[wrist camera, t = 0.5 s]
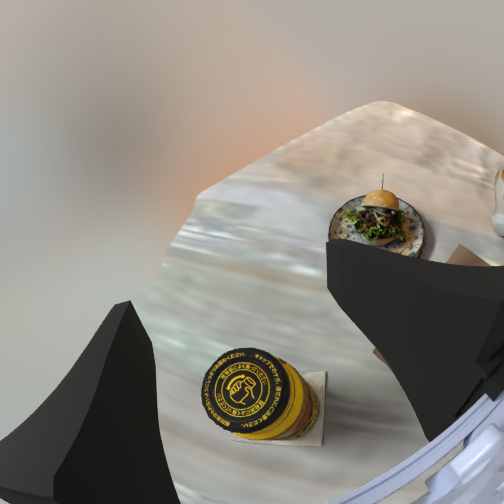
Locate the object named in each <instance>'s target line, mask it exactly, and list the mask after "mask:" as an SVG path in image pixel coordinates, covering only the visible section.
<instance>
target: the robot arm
mask: <svg viewBox="0 0 504 504" xmlns="http://www.w3.org/2000/svg"><path fill="white" fill-rule="evenodd" d="M326 254H327V288H328V289H329V291H330V293H331V294H332V296H333V297H334V299H335V300H336V302H337V303H338V305H339V306H340V307H341V309H342V310H343V311H344V312H345V313H346V314H347V315H348V317H349V318H350V319H351V320H352V321H353V322H354V323H355V324H356V326H357V327H358V328H359V329H360V330H361V331H362V332H363V333H364V335H365V336H366V337H367V338H368V339H369V340H370V341H371V342H372V344H373V345H374V346H375V347H376V348H377V350H378V351H379V352H380V353H381V355H382V356H383V358H384V359H385V361H386V362H387V364H388V365H389V367H390V368H391V370H392V371H393V373H394V375H395V376H396V378H397V380H398V381H399V383H400V385H401V386H402V388H403V390H404V392H405V393H406V395H407V397H408V399H409V401H410V403H411V405H412V407H413V409H414V411H415V413H416V415H417V417H418V419H419V422H420V424H421V426H422V429H423V431H424V434H425V436H426V438H427V439H428V441H429V442H430V443H429V444H427V445H426V446H425V447H423V448H422V449H421V450H419V451H418V452H416V453H415V454H414V455H412V456H411V457H409V458H408V459H406V460H405V461H403V462H402V463H400V464H399V465H397V466H396V467H394V468H392V469H391V470H389V471H387V472H386V473H384V474H382V475H381V476H379V477H377V478H376V479H374V480H372V481H370V482H368V483H367V484H365V485H363V486H361V487H359V488H357V489H355V490H353V491H351V492H349V493H347V494H345V495H343V496H341V497H339V498H336V499H334V500H332V501H330V502H327V503H325V504H376V503H377V502H379V501H381V500H383V499H384V498H386V497H388V496H389V495H391V494H393V493H394V492H396V491H397V490H399V489H401V488H402V487H404V486H405V485H407V484H408V483H410V482H411V481H413V480H414V479H415V478H417V477H418V476H420V475H421V474H422V473H424V472H425V471H427V470H428V469H429V468H430V467H432V466H433V465H434V464H436V463H437V462H438V461H439V460H441V459H442V458H443V457H444V456H446V455H447V454H448V453H449V452H450V451H451V450H453V449H454V448H455V447H456V446H457V445H458V444H459V443H461V442H462V441H463V440H464V443H463V444H464V447H463V450H462V451H461V452H460V453H458V454H457V455H456V456H455V457H454V458H453V459H451V460H450V461H449V462H448V463H447V464H445V465H444V466H443V467H442V468H440V469H439V470H438V471H437V472H435V473H434V474H433V475H432V476H430V477H429V478H428V479H426V480H425V484H426V485H427V487H428V488H429V490H430V491H428V492H427V493H425V494H424V495H423V496H421V497H420V498H418V499H417V500H415V501H414V502H412V503H411V504H504V266H466V265H455V264H447V263H440V262H434V261H429V260H423V259H419V258H415V257H410V256H406V255H402V254H399V253H395V252H391V251H388V250H384V249H381V248H377V247H374V246H370V245H367V244H363V243H360V242H356V241H352V240H347V239H342V238H339V239H336V240H333V241H329V242H326ZM0 498H1V499H3V500H4V501H6V502H8V503H10V504H181V503H180V501H179V498H178V495H177V493H176V490H175V487H174V484H173V481H172V478H171V475H170V471H169V468H168V464H167V461H166V457H165V453H164V449H163V444H162V440H161V435H160V430H159V422H158V408H157V389H156V366H155V359H154V353H153V346H152V342H151V340H150V338H149V336H148V334H147V332H146V331H145V329H144V327H143V325H142V323H141V321H140V319H139V317H138V315H137V313H136V311H135V309H134V307H133V305H132V303H131V301H126V302H123V303H119V304H116V305H114V307H113V308H112V309H111V310H110V312H109V313H108V315H107V316H106V318H105V320H104V321H103V322H102V324H101V325H100V327H99V328H98V330H97V332H96V333H95V335H94V336H93V338H92V339H91V341H90V342H89V344H88V345H87V347H86V348H85V350H84V351H83V353H82V354H81V356H80V357H79V358H78V360H77V361H76V363H75V364H74V366H73V367H72V368H71V370H70V371H69V373H68V374H67V375H66V376H65V378H64V379H63V380H62V381H61V383H60V384H59V385H58V386H57V388H56V389H55V390H54V391H53V392H52V393H51V395H50V396H49V397H48V398H47V399H46V400H45V401H44V402H43V403H42V404H41V405H40V406H39V407H38V409H37V410H36V411H35V412H34V413H33V414H32V415H30V417H28V418H27V419H26V420H25V421H24V422H23V423H22V424H21V425H20V426H18V427H17V428H16V429H15V430H14V431H13V432H11V433H10V434H9V435H8V436H7V437H5V438H4V439H2V440H1V441H0Z"/></svg>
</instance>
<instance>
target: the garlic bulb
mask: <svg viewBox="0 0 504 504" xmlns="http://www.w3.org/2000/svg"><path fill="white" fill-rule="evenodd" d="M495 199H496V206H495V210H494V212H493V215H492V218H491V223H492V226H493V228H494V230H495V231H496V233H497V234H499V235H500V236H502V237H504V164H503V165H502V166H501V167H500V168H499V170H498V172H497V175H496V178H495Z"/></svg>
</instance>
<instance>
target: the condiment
mask: <svg viewBox="0 0 504 504" xmlns="http://www.w3.org/2000/svg"><path fill="white" fill-rule="evenodd" d="M201 397H202V404H203V406H204V408H205V410H206V412H207V415H208V417H209V418H210V419H211V420H213V421H214V422H215V423H216V425H219V426H220V427H222V428H223V429H224V430H228V431H231V433H232V432H233V439H232V440H234V441H242V442H251V443H261V444H274V445H293V446H322V434H323V420H324V400H325V371H321V372H299V373H298V371H297V370H296V369H295V368H293V367H292V366H291V365H290V364H288V363H287V362H286V361H284V360H282V359H280V358H277V357H274V356H272V355H271V354H270V353H268V352H266V351H263V350H260V349H256V348H238V349H234V350H231V351H228V352H226V353H224V354H223V355H222V356H220V357H219V358H218V359H217V360H216V361H215V362H214V363H213V364H212V366H211V367H210V368H209V370H208V371H207V372H206V374H205V377H204V380H203V385H202V389H201Z"/></svg>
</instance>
